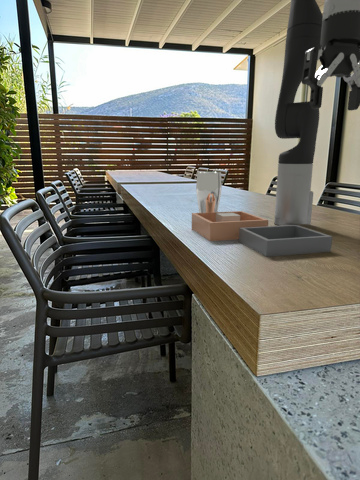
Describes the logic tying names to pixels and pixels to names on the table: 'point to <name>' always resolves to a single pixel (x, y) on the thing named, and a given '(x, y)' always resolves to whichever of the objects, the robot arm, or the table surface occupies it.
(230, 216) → the off-white cube block
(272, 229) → the charcoal bin
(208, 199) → the silver metal tumbler
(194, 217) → the terracotta tray
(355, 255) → the table surface
